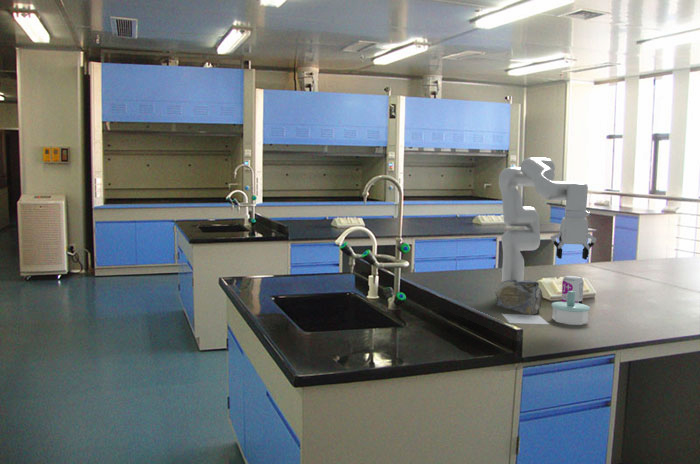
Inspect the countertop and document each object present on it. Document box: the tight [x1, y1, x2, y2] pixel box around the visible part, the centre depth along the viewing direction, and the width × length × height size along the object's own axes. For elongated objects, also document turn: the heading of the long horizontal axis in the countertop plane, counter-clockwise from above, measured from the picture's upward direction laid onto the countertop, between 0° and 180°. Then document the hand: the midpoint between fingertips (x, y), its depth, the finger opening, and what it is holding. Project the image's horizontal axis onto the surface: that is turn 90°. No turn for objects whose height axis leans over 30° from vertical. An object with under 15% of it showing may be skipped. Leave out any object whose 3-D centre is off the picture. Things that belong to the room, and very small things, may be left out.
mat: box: [501, 313, 550, 325], centre depth 228 cm, size 14×15×1 cm
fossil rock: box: [494, 279, 544, 315], centre depth 245 cm, size 20×10×15 cm, turn 32°
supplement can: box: [560, 274, 585, 304], centre depth 242 cm, size 8×8×15 cm
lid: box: [551, 291, 591, 312], centre depth 226 cm, size 14×14×6 cm
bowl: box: [551, 307, 589, 326], centre depth 227 cm, size 12×12×6 cm
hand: (571, 258), depth 226 cm, fingers open, 9 cm apart
